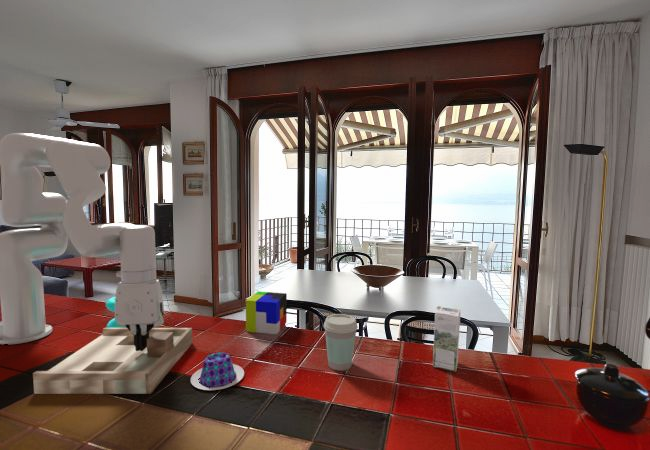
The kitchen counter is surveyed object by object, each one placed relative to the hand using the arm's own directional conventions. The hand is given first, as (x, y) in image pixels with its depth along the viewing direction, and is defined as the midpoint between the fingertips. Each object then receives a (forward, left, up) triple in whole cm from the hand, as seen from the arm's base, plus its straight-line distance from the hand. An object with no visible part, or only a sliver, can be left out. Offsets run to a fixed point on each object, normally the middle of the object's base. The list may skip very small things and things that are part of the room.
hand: (142, 348), depth 86 cm
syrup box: (+76, 0, -5) cm, 76 cm away
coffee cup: (+49, 0, -5) cm, 50 cm away
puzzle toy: (+27, +25, -5) cm, 37 cm away
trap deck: (-5, 0, -4) cm, 6 cm away
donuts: (-17, +23, -5) cm, 29 cm away
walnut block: (+5, 0, -1) cm, 5 cm away
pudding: (+20, -6, -5) cm, 22 cm away
